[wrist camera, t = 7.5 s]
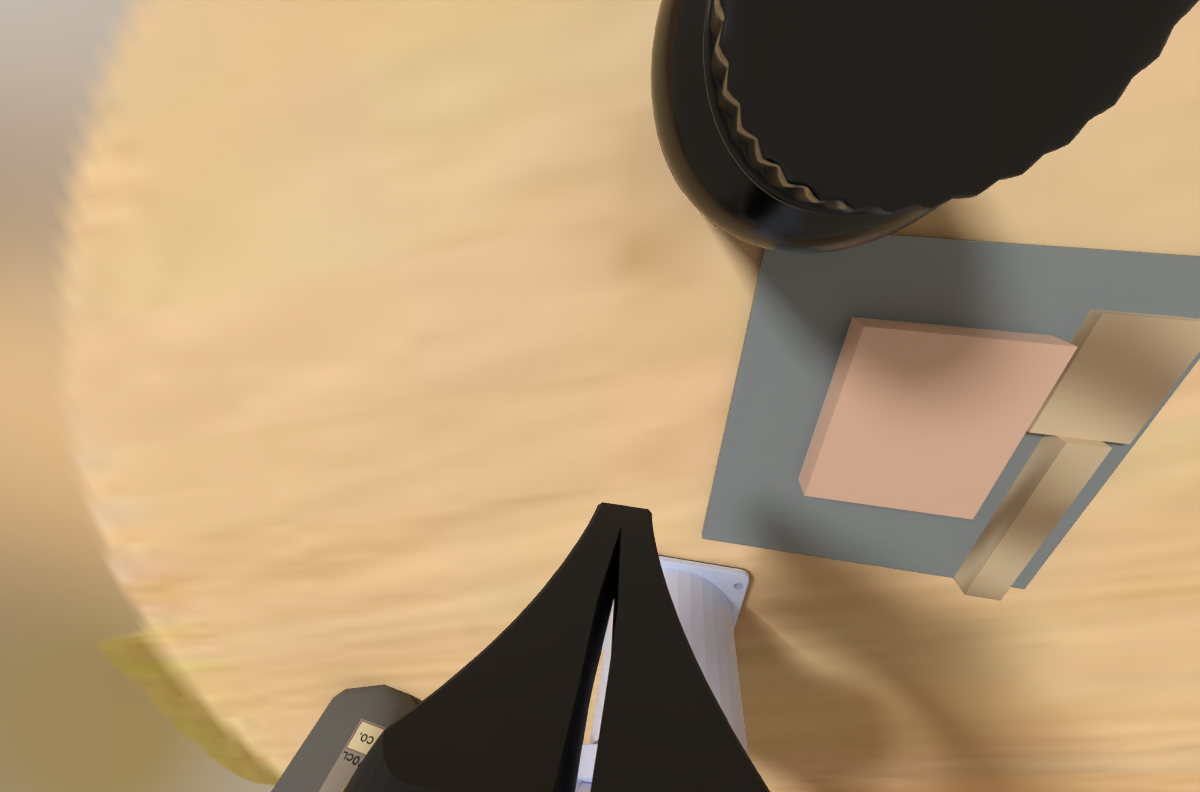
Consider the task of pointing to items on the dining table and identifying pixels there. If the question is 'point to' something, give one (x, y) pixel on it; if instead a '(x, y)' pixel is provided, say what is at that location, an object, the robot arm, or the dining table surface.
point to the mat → (919, 295)
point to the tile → (927, 414)
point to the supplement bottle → (879, 103)
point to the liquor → (343, 738)
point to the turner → (1080, 433)
